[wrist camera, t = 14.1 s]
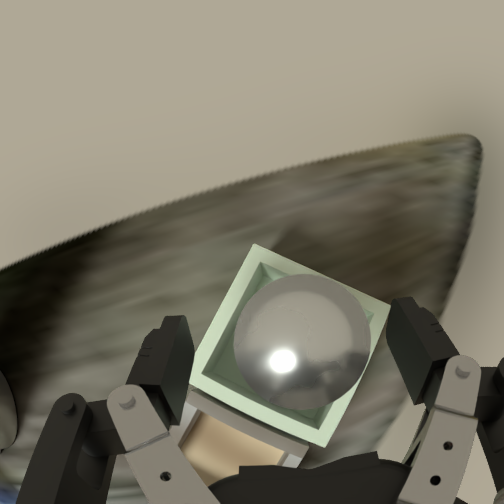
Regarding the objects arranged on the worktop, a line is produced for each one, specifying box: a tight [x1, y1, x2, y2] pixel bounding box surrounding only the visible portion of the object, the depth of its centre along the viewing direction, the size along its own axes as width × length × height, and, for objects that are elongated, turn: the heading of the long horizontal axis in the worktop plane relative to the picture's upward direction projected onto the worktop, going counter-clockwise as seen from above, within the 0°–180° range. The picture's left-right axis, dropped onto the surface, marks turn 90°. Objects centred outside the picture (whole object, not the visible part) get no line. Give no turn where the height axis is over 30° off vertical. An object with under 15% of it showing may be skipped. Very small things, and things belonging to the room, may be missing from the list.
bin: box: [189, 244, 391, 447], centre depth 18 cm, size 9×9×4 cm
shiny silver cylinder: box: [234, 274, 371, 410], centre depth 13 cm, size 4×4×11 cm
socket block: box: [169, 388, 309, 487], centre depth 16 cm, size 7×7×3 cm
